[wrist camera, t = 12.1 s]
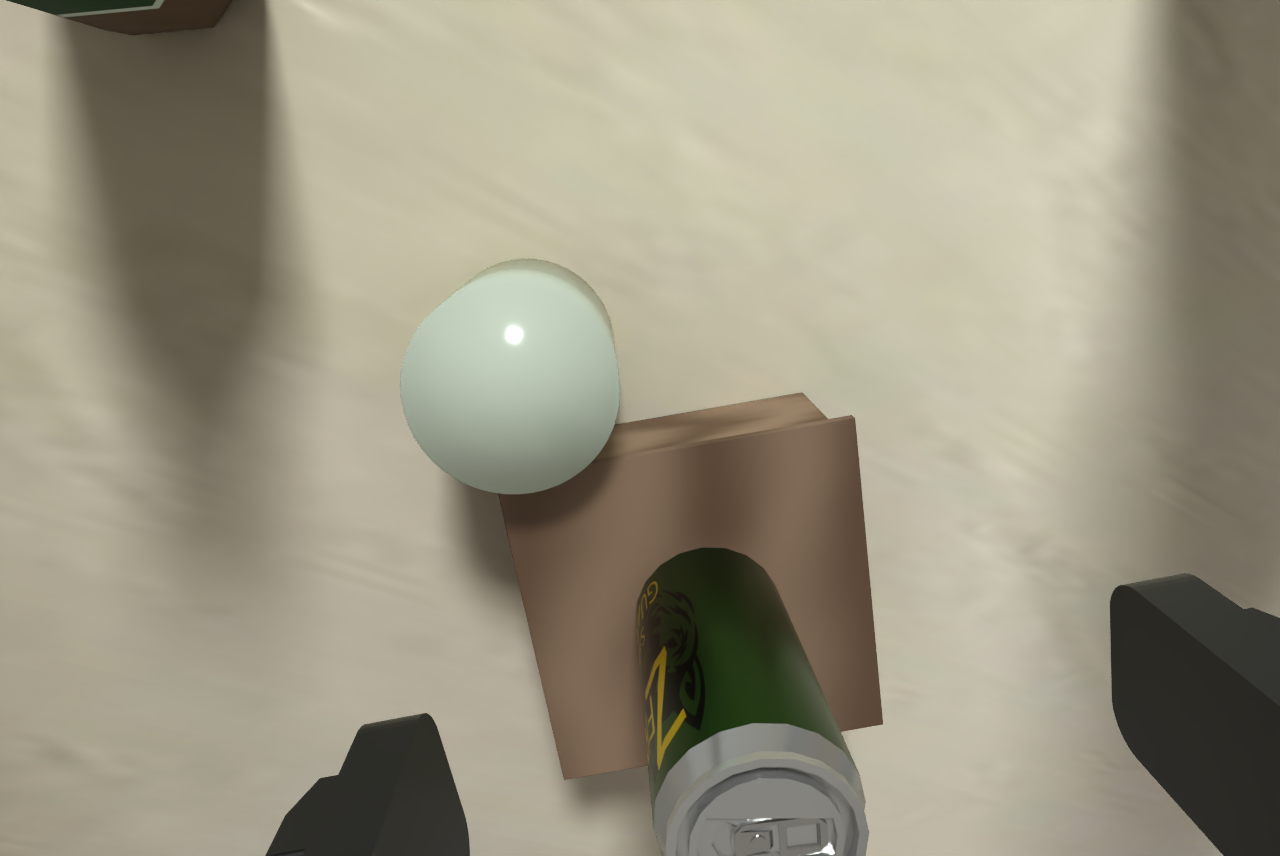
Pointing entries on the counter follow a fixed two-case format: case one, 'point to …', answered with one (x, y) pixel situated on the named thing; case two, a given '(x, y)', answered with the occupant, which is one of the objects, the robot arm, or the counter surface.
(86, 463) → the counter surface
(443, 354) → the pale green capsule
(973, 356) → the counter surface
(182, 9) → the beer bottle
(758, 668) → the beer can
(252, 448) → the counter surface
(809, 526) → the podium
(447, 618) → the counter surface
